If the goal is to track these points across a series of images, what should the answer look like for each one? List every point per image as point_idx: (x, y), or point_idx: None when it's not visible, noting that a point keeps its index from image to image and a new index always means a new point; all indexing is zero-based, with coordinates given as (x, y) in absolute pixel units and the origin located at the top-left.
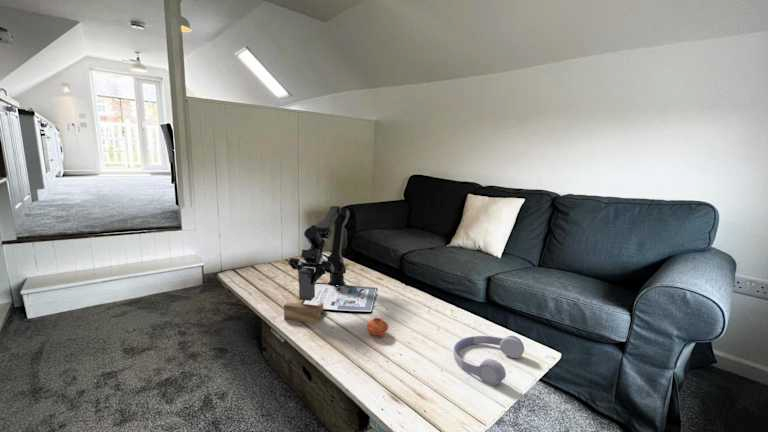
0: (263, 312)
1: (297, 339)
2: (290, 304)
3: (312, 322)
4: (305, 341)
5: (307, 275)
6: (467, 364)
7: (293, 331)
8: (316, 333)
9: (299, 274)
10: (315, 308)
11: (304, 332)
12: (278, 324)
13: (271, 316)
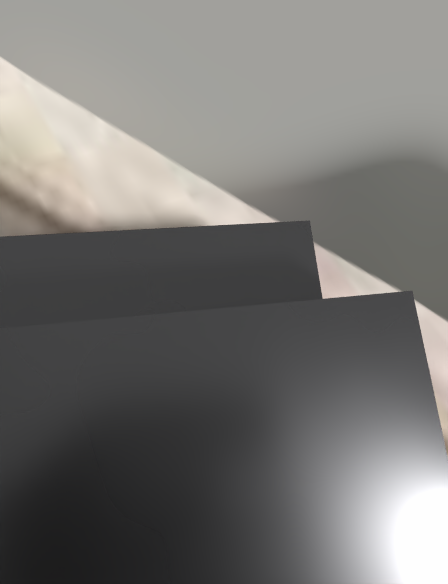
0: (420, 305)
1: (80, 114)
2: None
3: None
4: (29, 108)
5: (15, 246)
6: None
7: (142, 175)
8: (5, 191)
9: (278, 230)
10: None
11: (78, 182)
12: (260, 214)
13: (351, 279)
